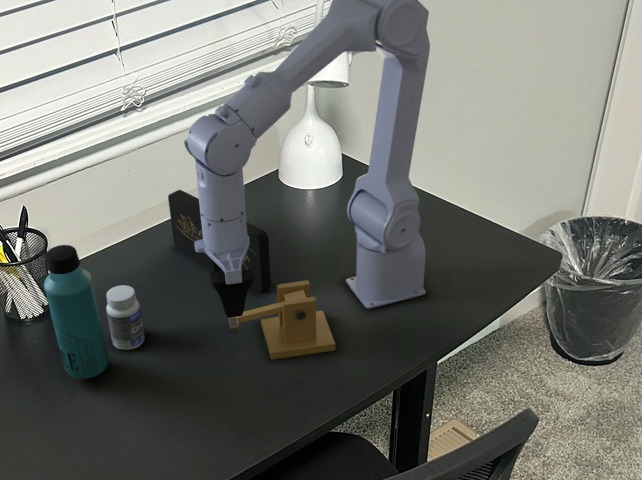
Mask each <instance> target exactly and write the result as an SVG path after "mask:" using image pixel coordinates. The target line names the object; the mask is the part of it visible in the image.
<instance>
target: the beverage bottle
mask: <svg viewBox="0 0 642 480" xmlns="http://www.w3.org/2000/svg"><path fill="white" fill-rule="evenodd" d="M45 258H46V259H45V260H46V268H47V271H48V272H49V274H48V275H47V276H46V278H45V280H44V281H43V290H44V292H45V295H46V299H47V302H48V303H47V305H48V309H49V312H50V318H51V319H50V320H51V321H52V324H53V325H52V326H53V328H54V332H55V337H56V342H57V344H56V345H57V347H58V351H59V356H60V358H61V359H60V361H61V363H62V366H63V369H64V371H65V372H66V373H67V374H68V375H69V376H70V377H72V378H75V379H90V378H94V377H96V376H98V375H100V374H102V373H103V372H104V371H105V370H106V369H107V368H108V364H109V361H110V359H109V351H108V346H107V344H106V343H107V340H106V336H105V333H104V329H103V325H102V320H101V316H100V312H99V309H98V305H97V300H96V295H95V290H94V285H93V284H94V283H93V278H92V274H91V273H90V272H89V271H88V270H87V269H85V268H83V267H81V266H80V265H81V261H80V258H79V254H78V252H77V249H76V247H74V246H73V245H69V244H60V245H59V244H58V245H55V246H53V247H51V248H49V250H47V252H46V253H45Z"/></svg>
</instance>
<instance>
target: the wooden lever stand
mask: <svg viewBox="0 0 642 480" xmlns="http://www.w3.org/2000/svg"><path fill="white" fill-rule="evenodd" d="M299 290H304V292H305V295H306V298H301V299H294V300H287V301H285V298H284V294H288V293H292V292H296V291H299ZM276 292H277V293H276V294H277V303H279V302H282V306H283V312H281V313H277V314H278V316H276V317H268V318H267V317H266V318H260V322H261V323H260V324H261V325H260V326H261V329H262V333H263V335H264V339H265V344H266V347H267V350H268V354H269V357H270V360H278V359H285V358H292V357H299V356H305V355H313V354H320V353H326V352H333V351H336V342H335V339H334V336H333V333H332V331H331V329H330V325H329V322H328V320H327V318H326V315H325V313H324V310H317V301H316V297H315V296H311V284H310V281H309V280H308V279H307V280H300V281H293V282H287V283H280V284H276Z"/></svg>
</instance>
